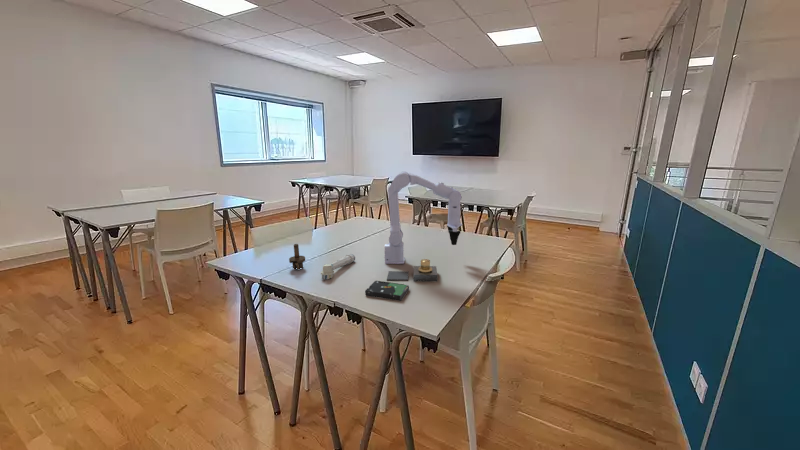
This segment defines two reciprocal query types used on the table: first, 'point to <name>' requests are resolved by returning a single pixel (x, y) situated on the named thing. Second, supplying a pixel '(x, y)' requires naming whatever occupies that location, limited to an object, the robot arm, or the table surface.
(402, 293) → the disk drive
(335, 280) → the table surface
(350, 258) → the toothbrush head
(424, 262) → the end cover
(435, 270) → the housing
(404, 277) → the mat
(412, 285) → the table surface
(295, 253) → the industrial component
